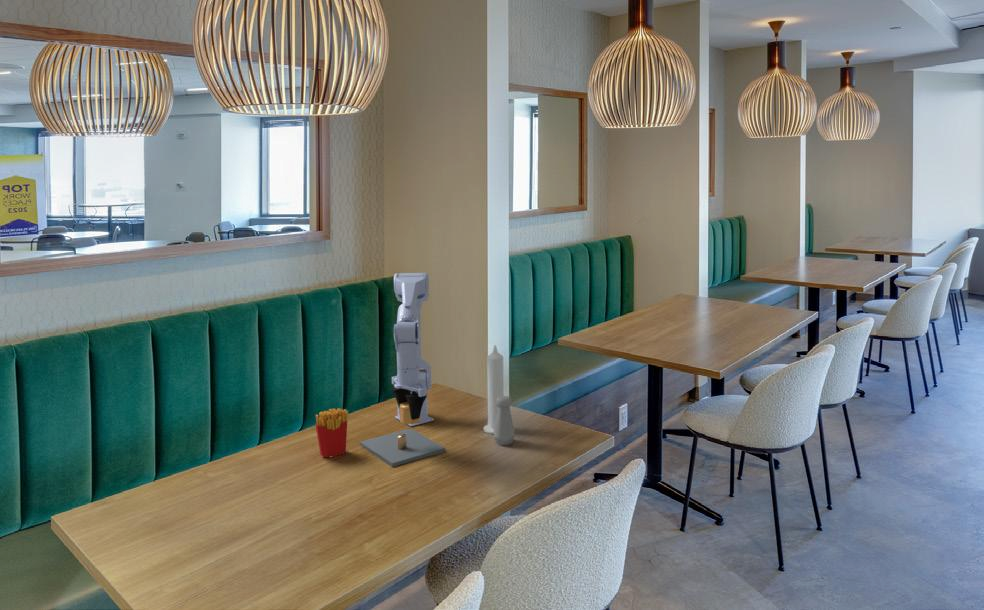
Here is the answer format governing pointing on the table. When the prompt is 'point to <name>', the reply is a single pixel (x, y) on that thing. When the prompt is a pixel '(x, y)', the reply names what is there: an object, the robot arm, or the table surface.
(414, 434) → the board
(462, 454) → the table surface
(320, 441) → the french fries
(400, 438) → the copper pin
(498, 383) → the candle
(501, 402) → the salt shaker
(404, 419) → the cap
